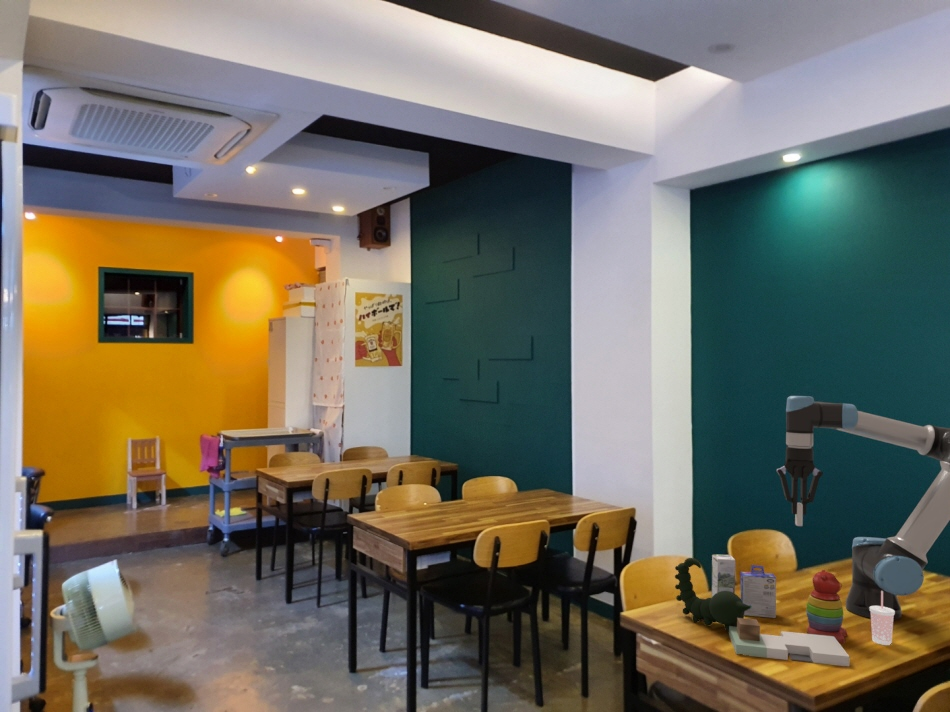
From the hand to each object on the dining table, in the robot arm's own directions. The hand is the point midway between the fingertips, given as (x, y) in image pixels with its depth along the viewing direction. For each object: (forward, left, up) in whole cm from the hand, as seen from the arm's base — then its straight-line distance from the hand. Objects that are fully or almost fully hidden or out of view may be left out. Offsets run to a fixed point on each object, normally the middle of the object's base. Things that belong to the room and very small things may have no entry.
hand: (798, 525), depth 208 cm
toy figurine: (+26, +12, -29) cm, 40 cm away
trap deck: (+9, +26, -28) cm, 39 cm away
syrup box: (+20, -12, -29) cm, 37 cm away
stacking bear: (-5, +11, -29) cm, 31 cm away
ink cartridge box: (+11, -2, -29) cm, 31 cm away
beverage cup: (-19, +12, -29) cm, 36 cm away
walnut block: (+18, +26, -26) cm, 41 cm away
